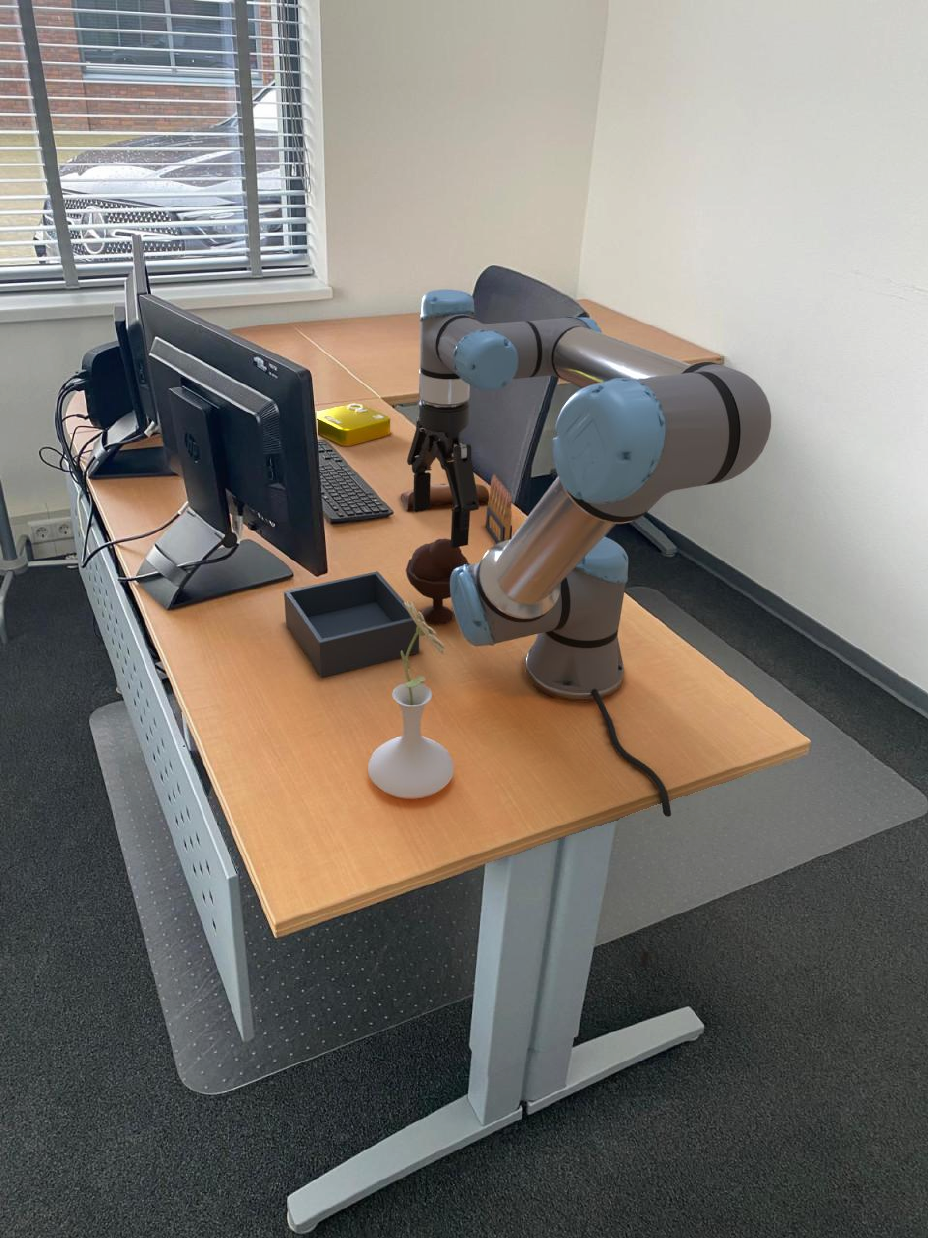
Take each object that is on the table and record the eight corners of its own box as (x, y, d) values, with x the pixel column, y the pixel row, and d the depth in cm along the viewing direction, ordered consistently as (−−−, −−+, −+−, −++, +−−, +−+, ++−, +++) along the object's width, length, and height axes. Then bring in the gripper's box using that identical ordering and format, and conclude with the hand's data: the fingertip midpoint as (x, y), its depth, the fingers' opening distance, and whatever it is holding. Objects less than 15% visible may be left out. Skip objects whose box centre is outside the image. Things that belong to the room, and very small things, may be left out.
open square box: (419, 652, 146) (419, 618, 142) (321, 678, 139) (319, 642, 136) (377, 603, 158) (377, 571, 155) (286, 624, 151) (283, 591, 148)
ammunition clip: (511, 550, 177) (515, 494, 171) (502, 551, 177) (506, 494, 170) (493, 526, 186) (497, 471, 179) (485, 527, 185) (488, 472, 179)
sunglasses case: (477, 486, 201) (483, 468, 195) (485, 513, 198) (491, 495, 192) (398, 493, 196) (402, 475, 190) (404, 521, 193) (409, 503, 187)
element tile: (309, 429, 227) (308, 411, 224) (357, 417, 236) (357, 399, 233) (345, 447, 218) (344, 428, 215) (393, 434, 227) (393, 416, 224)
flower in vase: (456, 806, 117) (465, 644, 104) (367, 808, 116) (364, 645, 103) (450, 740, 128) (457, 587, 115) (368, 741, 127) (366, 587, 114)
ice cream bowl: (471, 601, 160) (475, 525, 152) (464, 636, 151) (469, 556, 143) (411, 596, 161) (412, 520, 153) (401, 630, 151) (402, 551, 143)
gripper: (508, 424, 128) (498, 557, 139) (430, 372, 146) (426, 493, 158) (461, 431, 125) (454, 566, 136) (387, 377, 143) (387, 500, 154)
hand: (439, 527), depth 147 cm, fingers open, 13 cm apart
